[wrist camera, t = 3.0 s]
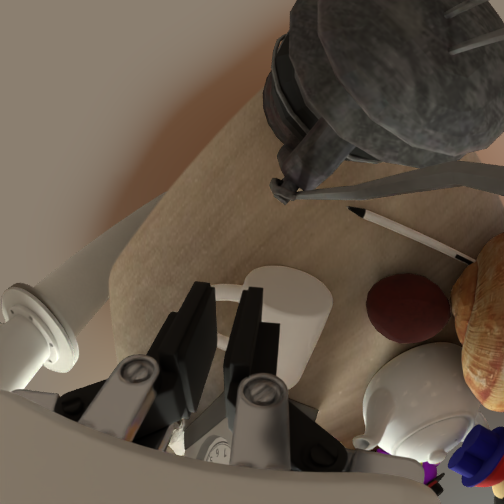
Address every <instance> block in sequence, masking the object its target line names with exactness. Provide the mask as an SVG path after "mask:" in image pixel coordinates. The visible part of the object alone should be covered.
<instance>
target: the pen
mask: <svg viewBox="0 0 504 504" xmlns="http://www.w3.org/2000/svg"><path fill="white" fill-rule="evenodd" d="M347 208H348V209H349V210H351V211H352V212H354V213H355V214H357V215H358V216H360V217H361V218H363V219H366V220H368V221H371V222H373V223H375V224H378V225H380V226H383V227H385V228H388V229H390V230H392V231H395V232H397V233H399V234H402V235H404V236H406V237H409V238H411V239H413V240H415V241H418V242H420V243H422V244H424V245H427V246H429V247H431V248H433V249H435V250H438V251H440V252H442V253H444V254H446V255H448V256H450V257H452V258H455V259H457V260H459V261H461V262H463V263H465V264H467V265H470V264H472V263H474V262H476V260H474V259H473V258H471V257H469V256H467V255H465V254H463V253H461V252H459V251H457V250H455V249H453V248H451V247H449V246H447V245H445V244H443V243H441V242H439V241H436V240H434V239H432V238H430V237H428V236H426V235H424V234H422V233H419V232H417V231H415V230H413V229H411V228H408V227H406V226H404V225H402V224H399V223H397V222H395V221H392V220H390V219H388V218H385V217H383V216H381V215H378V214H376V213H374V212H371V211H369V210H366V209H362V208H356V207H350V206H347Z"/></svg>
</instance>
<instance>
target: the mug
mask: <svg viewBox="0 0 504 504" xmlns="http://www.w3.org/2000/svg"><path fill="white" fill-rule="evenodd" d="M249 286H250V287H261V288H263V306H262V322H269V323H280V335H279V348H278V361H277V373H276V376H277V377H279V378H280V379H282V380H283V381H284V383H285V384H286V385H287V389H290V388H292V387H293V386H295V385H296V384H297V383H298V381H299V380H300V378H301V376H302V374H303V372H304V370H305V367H306V365H307V363H308V361H309V359H310V357H311V355H312V352H313V350H314V348H315V346H316V344H317V341H318V339H319V337H320V335H321V332H322V330H323V328H324V325H325V323H326V321H327V318H328V316H329V314H330V311H331V309H332V306H333V298H332V295H331V293H330V291H329V289H328V288H327V287H326V286H325V285H324V284H323V283H322V282H321V281H320V280H318V279H317V278H315V277H313V276H312V275H310V274H308V273H306V272H303V271H300V270H298V269H294V268H290V267H285V266H263V267H259V268H256V269H254V270H252V271H251V272H250V273H249V274H248V275H247V276H246V278H245V281H244V284H243V285H235V284H216V285H212V286H211V287H215V296H216V301H219V300H227V301H236V302H238V303H239V302H240V298H241V295H242V291H243V290H248V288H249ZM217 338H218V341H217V347H218V348H220V349H222V350H224V351H226V349H227V345H228V341H229V338H230V337H227V336H224V335H221V334H219V333H217Z"/></svg>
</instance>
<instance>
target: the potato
mask: <svg viewBox="0 0 504 504" xmlns="http://www.w3.org/2000/svg"><path fill="white" fill-rule="evenodd" d="M366 307H367V313H368V317H369V319H370V321H371V323H372V325H373V326H374V327H375V329H376V330H377V331H378V332H379V333H381V334H382V335H383V336H385V337H386V338H388V339H389V340H392V341H394V342H397V343H418V342H421V341H424V340H427V339H430V338H431V337H433V336H435V335H436V334H437V333H438V332H439V331H441V330H442V329H443V328H444V327H445V326H446V325H447V323H448V321H449V319H450V317H451V309H450V303H449V300H448V299H447V297H446V296H445V295H444V293H443V292H442V290H441V289H440V288H439V286H438V285H436V284H435V283H433V282H432V281H430V280H429V279H427V278H426V277H424V276H421V275H416V274H411V273H404V274H396V275H392V276H388V277H386V278H383V279H381V280H380V281H378V282H377V283H376V284H374V285H373V287H372V288H371V290H370V291H369V292H368V295H367V300H366Z"/></svg>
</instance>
